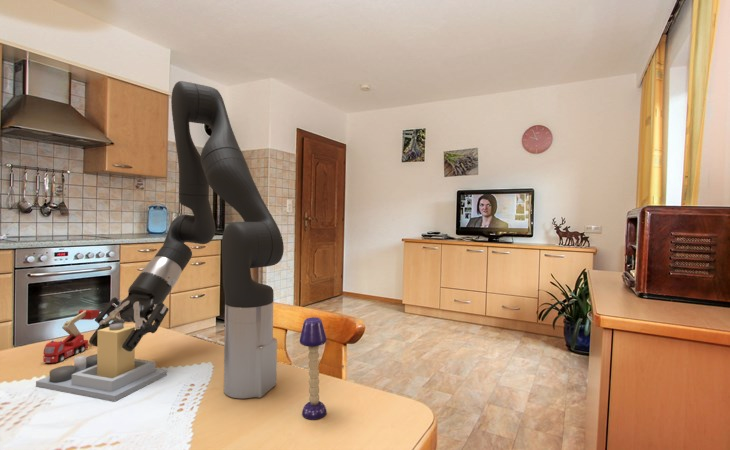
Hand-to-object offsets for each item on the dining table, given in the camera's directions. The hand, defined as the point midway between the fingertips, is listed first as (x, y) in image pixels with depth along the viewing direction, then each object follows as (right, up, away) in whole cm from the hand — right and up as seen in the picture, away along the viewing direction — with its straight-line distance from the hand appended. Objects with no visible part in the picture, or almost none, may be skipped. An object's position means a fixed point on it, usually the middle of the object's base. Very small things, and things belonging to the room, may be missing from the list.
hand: (109, 347), depth 74 cm
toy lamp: (+42, -9, -9) cm, 44 cm away
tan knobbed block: (0, -7, +1) cm, 7 cm away
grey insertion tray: (-3, -8, +2) cm, 8 cm away
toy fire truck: (-21, -7, +17) cm, 27 cm away
